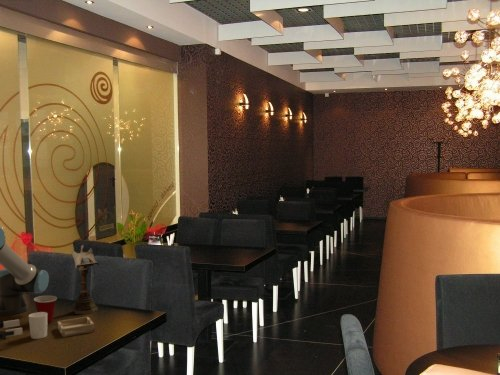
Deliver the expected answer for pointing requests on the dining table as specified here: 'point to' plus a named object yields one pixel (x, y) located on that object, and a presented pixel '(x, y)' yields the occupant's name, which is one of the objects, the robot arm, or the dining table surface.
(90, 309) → the bird statue
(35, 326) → the white cup
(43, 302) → the plastic cup
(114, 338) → the dining table surface
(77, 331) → the birch crate
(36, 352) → the dining table surface
